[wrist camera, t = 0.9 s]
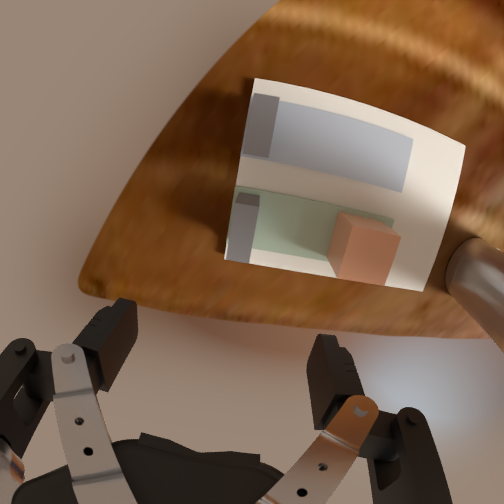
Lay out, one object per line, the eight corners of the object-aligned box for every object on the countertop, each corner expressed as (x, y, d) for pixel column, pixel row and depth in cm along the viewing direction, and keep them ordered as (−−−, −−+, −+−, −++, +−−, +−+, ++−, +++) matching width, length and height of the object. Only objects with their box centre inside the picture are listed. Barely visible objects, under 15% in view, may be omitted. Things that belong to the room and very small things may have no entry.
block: (381, 221, 28) (401, 236, 24) (368, 264, 30) (384, 285, 25) (338, 211, 28) (352, 225, 23) (326, 256, 30) (337, 278, 25)
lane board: (459, 145, 26) (465, 145, 25) (418, 287, 33) (422, 291, 32) (255, 80, 25) (254, 78, 24) (225, 254, 32) (224, 258, 31)
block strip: (392, 218, 29) (415, 234, 23) (376, 268, 31) (395, 292, 26) (235, 185, 28) (229, 195, 23) (226, 241, 30) (219, 263, 25)
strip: (410, 138, 25) (438, 140, 20) (399, 191, 28) (424, 203, 22) (251, 96, 25) (248, 85, 20) (240, 155, 27) (235, 158, 22)
